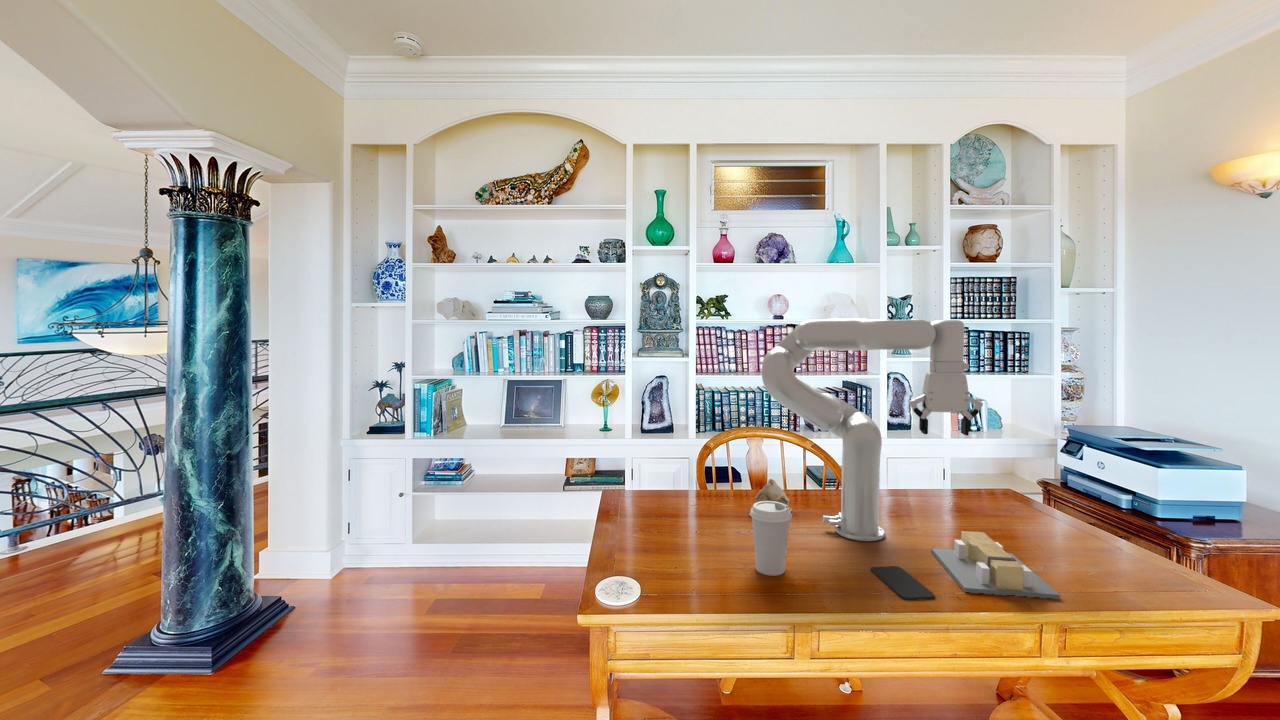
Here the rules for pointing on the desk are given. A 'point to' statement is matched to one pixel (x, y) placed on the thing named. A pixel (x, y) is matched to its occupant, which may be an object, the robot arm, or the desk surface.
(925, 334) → the robot arm
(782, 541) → the coffee cup
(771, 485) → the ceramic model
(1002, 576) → the tan long bar
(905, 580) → the phone
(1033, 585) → the peg plate
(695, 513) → the desk surface
